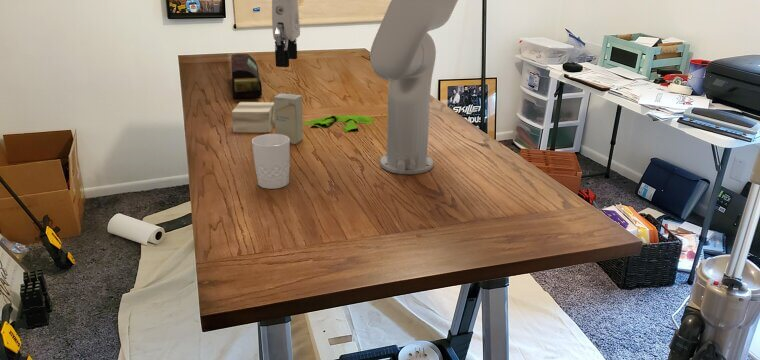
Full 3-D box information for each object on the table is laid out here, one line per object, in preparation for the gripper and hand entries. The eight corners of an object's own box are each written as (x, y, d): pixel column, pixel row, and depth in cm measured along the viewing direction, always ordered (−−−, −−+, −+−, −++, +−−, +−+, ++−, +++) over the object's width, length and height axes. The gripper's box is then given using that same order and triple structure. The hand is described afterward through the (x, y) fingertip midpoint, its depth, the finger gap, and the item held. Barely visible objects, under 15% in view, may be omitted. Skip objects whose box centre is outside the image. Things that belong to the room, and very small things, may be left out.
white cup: (275, 173, 128) (272, 131, 124) (299, 182, 124) (297, 139, 120) (247, 183, 122) (244, 140, 119) (271, 193, 118) (268, 148, 114)
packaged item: (263, 102, 184) (261, 71, 180) (232, 103, 182) (229, 72, 178) (258, 75, 219) (256, 49, 215) (232, 76, 217) (230, 50, 213)
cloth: (382, 119, 170) (382, 112, 169) (360, 142, 150) (360, 134, 149) (318, 113, 175) (318, 105, 174) (289, 134, 155) (289, 126, 154)
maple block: (269, 133, 155) (268, 112, 153) (233, 132, 155) (231, 111, 152) (276, 122, 164) (274, 102, 162) (241, 121, 164) (240, 101, 162)
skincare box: (275, 141, 148) (272, 96, 143) (282, 136, 152) (280, 92, 147) (297, 144, 146) (294, 98, 141) (304, 139, 150) (302, 94, 145)
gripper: (291, -6, 126) (294, 70, 133) (305, -12, 142) (307, 56, 149) (258, -7, 127) (263, 69, 133) (276, -13, 142) (279, 55, 149)
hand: (286, 62), depth 141 cm, fingers open, 9 cm apart
